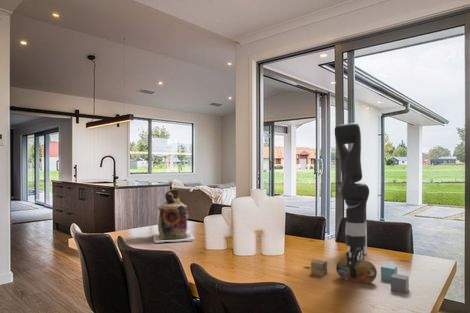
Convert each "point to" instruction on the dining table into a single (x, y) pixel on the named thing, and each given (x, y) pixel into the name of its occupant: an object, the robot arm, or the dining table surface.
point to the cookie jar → (172, 220)
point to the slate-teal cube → (388, 271)
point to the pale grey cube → (399, 283)
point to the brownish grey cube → (319, 267)
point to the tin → (357, 271)
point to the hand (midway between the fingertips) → (355, 275)
